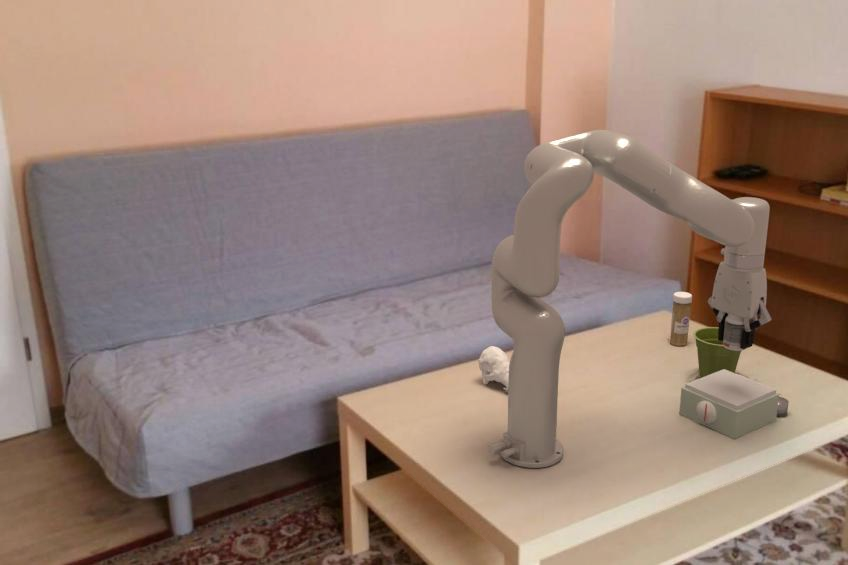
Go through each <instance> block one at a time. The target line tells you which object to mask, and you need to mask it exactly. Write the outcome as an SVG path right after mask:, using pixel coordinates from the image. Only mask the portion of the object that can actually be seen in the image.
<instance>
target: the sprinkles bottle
mask: <svg viewBox="0 0 848 565" xmlns="http://www.w3.org/2000/svg"><path fill="white" fill-rule="evenodd" d="M672 296H673V297H672V300H673V303H672V304H673V305H672V312H671V325H670V339H669V343H670V344H671V345H673V346H677V347H684V346H686V345H688V343H689V342H688V340H689V339H688V336H689V332H690V331H689V330H690V316H691V304H692V302H693V295H692V294H691V293H690V292H687V291H675V292H674V293H673V295H672Z"/></svg>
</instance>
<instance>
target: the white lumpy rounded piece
mask: <svg viewBox="0 0 848 565" xmlns="http://www.w3.org/2000/svg"><path fill="white" fill-rule="evenodd" d="M477 362H478V367H479V370H480V371H481V375H482V380H483V381H482V382H483V385H485V386H487V385H488V384H489V383H490V382H494V381H495V382H496V383H501V384H502V385H504V386H505V387H503V390H505V391H506V393H508V388H509V364H510V359H509V357H508V356H507V354H506V352H505V351H503V350H502V348H500V347H498V346H494V345H491V346H488V347H487V348H485V349H483V351H482V352H481V354H480V357H479V358H478V361H477Z"/></svg>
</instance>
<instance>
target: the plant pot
mask: <svg viewBox="0 0 848 565" xmlns="http://www.w3.org/2000/svg"><path fill="white" fill-rule="evenodd" d="M718 328H719V326H718V327H717V326H715V327H714V326H708V327H707V326H706V327H700V328H698V329H696V330H694V332H692V336H693V337H694V338H695V345H696V349H697V350H696V351H697V359H698V360H697V362H698V375H699V379H700V378H702V377H705V376H707V375H710V374H713V373H715V372H718V371H720V370H723V369H725V370H728V371H730V372H733V373H735V374H736V370H737V366H738V363H739V359H740V358H741V357H740V355H741V352H742V351H735V350H729V349H727V348H725V347H724V346H723V341H719V340H718Z"/></svg>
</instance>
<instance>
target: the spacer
mask: <svg viewBox="0 0 848 565" xmlns="http://www.w3.org/2000/svg"><path fill="white" fill-rule="evenodd" d="M789 402H790V401H789V400H788V399H787V398H785V397H783V396H779V400H778V408H777V415H776V418H782V419H783V418H785V417H787V416H788V408H789Z"/></svg>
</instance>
